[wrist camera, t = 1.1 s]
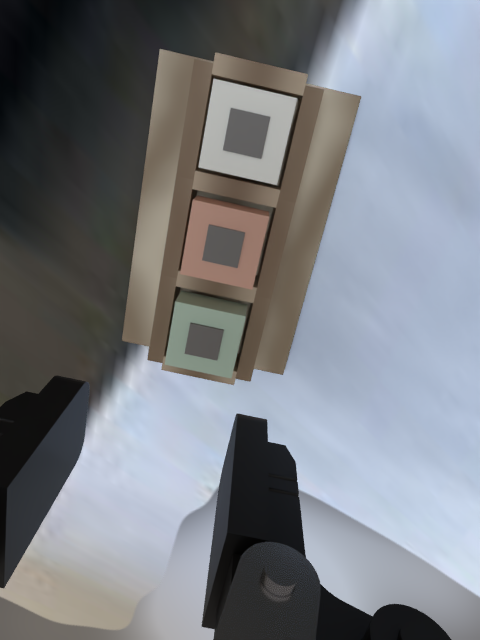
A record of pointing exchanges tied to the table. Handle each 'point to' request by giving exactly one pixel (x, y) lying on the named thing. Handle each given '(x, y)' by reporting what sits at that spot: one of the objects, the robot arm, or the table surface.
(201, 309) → the sage key
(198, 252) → the terracotta key
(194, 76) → the keypad board
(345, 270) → the table surface
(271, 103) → the cream key
